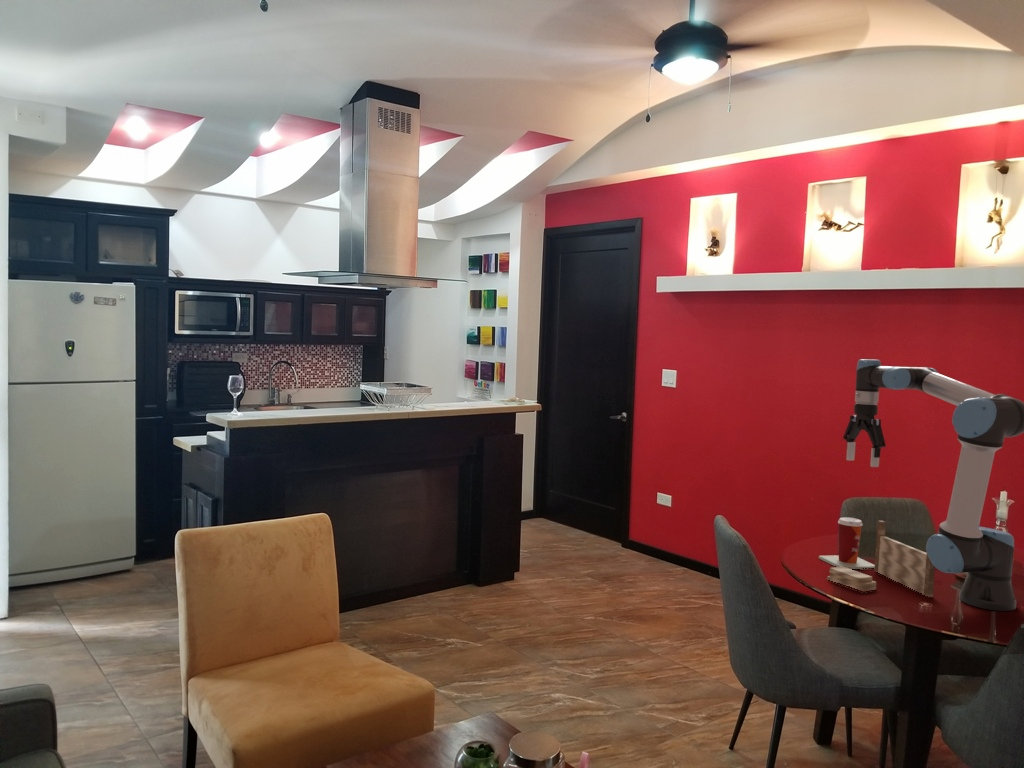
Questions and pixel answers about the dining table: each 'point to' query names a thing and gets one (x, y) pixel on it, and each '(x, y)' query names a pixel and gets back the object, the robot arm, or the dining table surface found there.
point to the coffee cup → (849, 539)
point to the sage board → (858, 565)
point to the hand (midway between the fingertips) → (862, 463)
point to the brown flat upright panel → (903, 563)
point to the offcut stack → (851, 578)
